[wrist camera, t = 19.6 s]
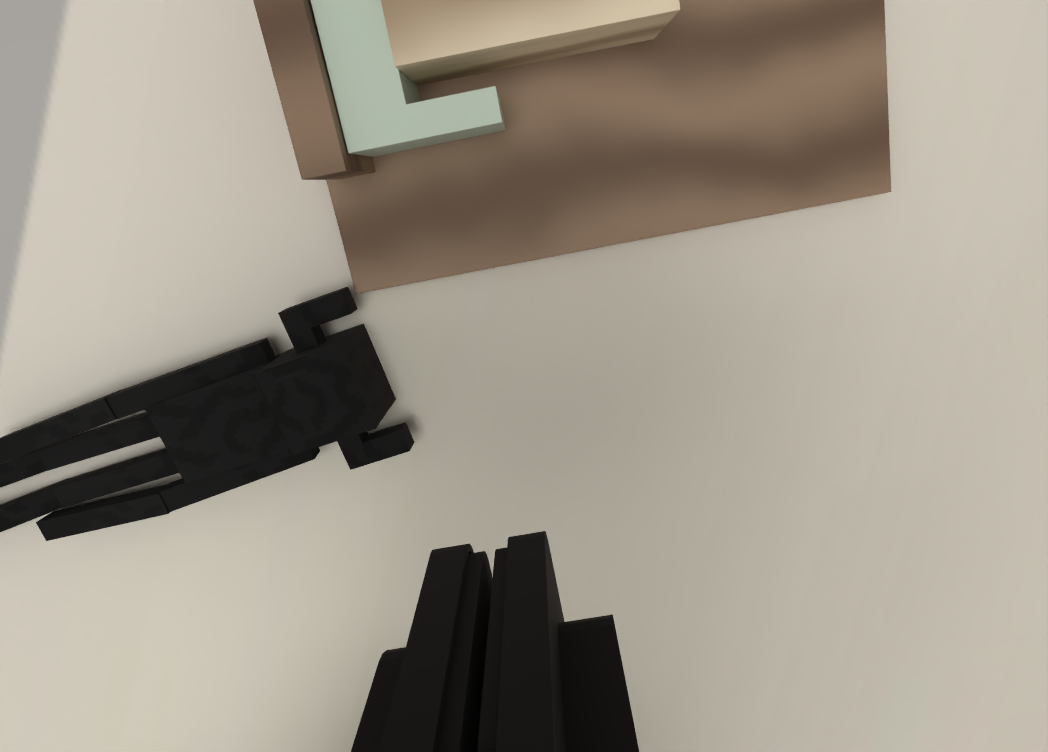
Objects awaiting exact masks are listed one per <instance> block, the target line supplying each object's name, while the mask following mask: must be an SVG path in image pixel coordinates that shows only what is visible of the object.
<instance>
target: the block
mask: <svg viewBox="0 0 1048 752" xmlns="http://www.w3.org/2000/svg"><path fill="white" fill-rule="evenodd" d="M311 4H312V8H313V12H314V16H315V20H316V24H317V28H318V32H319V36H320V40H321V45H322V49H323V53H324V57H325V61H326V65H327V69H328V73H329V77H330V81H331V85H332V89H333V93H334V97H335V101H336V105H337V109H338V113H339V117H340V121H341V125H342V129H343V133H344V137H345V141H346V145H347V149H348V153H350V154H357V155H363V156H370V157H376V156H381V155H386V154H391V153H396V152H401V151H406V150H410V149H415V148H420V147H425V146H430V145H435V144H440V143H445V142H450V141H455V140H460V139H465V138H470V137H475V136H480V135H485V134H490V133H494V132H499V131H504V130H506V128H505V123H504V118H503V112H502V107H501V101H500V98H499V95H498V92H497V89H496V86H493V87H488V88H483V89H478V90H474V91H469V92H464V93H459V94H454V95H449V96H445V97H440V98H435V99H430V100H425V101H420V98H419V93H418V89H417V85H416V84H415V83H414V82H413V81H412V80H410V79H409V78H408V77H407V76H406V75H404V74H403V73H402V72H401V71H400V70H399V69H397V68H396V67H395V64H394V59H393V55H392V50H391V45H390V41H389V36H388V31H387V27H386V22H385V17H384V13H383V8H382V3H381V0H311Z"/></svg>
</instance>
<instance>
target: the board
mask: <svg viewBox="0 0 1048 752" xmlns="http://www.w3.org/2000/svg"><path fill="white" fill-rule="evenodd" d="M253 1H254V4H255V8H256V12H257V15H258V19H259V23H260V26H261V30H262V34H263V38H264V41H265V45H266V49H267V52H268V56H269V60H270V63H271V67H272V71H273V75H274V78H275V82H276V86H277V89H278V93H279V97H280V100H281V104H282V108H283V111H284V115H285V119H286V123H287V126H288V130H289V134H290V137H291V141H292V145H293V148H294V152H295V156H296V160H297V163H298V167H299V171H300V174H301V178H302V180H327V184H328V188H329V192H330V195H331V199H332V203H333V207H334V211H335V215H336V218H337V222H338V226H339V230H340V234H341V238H342V241H343V245H344V249H345V253H346V257H347V261H348V264H349V268H350V272H351V276H352V280H353V284H354V287H355V291H356V294H357V293H362V292H367V291H372V290H378V289H383V288H388V287H393V286H399V285H404V284H409V283H414V282H420V281H425V280H430V279H435V278H441V277H446V276H451V275H456V274H462V273H467V272H472V271H477V270H483V269H488V268H493V267H498V266H504V265H509V264H514V263H519V262H525V261H530V260H535V259H540V258H546V257H551V256H556V255H561V254H567V253H572V252H577V251H582V250H588V249H593V248H598V247H603V246H609V245H614V244H619V243H624V242H630V241H635V240H640V239H645V238H651V237H656V236H661V235H666V234H672V233H677V232H682V231H687V230H693V229H698V228H703V227H708V226H714V225H719V224H724V223H729V222H735V221H740V220H745V219H750V218H756V217H761V216H766V215H771V214H777V213H782V212H787V211H792V210H798V209H803V208H808V207H813V206H819V205H824V204H829V203H834V202H840V201H845V200H850V199H855V198H861V197H866V196H871V195H876V194H882V193H887V192H891V176H890V148H889V120H888V93H887V65H886V37H885V9H884V0H679V3H680V10H679V12H678V13H677V14H676V15H675V16H674V17H673V18H672V19H671V21H670V22H669V23H668V24H667V25H666V26H665V27H664V28H663V30H662V31H661V32H660V33H659V34H658V35H657V36H656V37H655V39H652V40H647V41H642V42H637V43H632V44H627V45H622V46H617V47H612V48H607V49H602V50H596V51H591V52H586V53H581V54H576V55H571V56H566V57H561V58H556V59H551V60H546V61H541V62H536V63H531V64H525V65H520V66H515V67H510V68H505V69H500V70H495V71H490V72H485V73H480V74H475V75H470V76H465V77H460V78H454V79H449V80H444V81H439V82H434V83H429V84H424V85H419V86H417V89H418V93H419V98H420V101H425V100H430V99H435V98H440V97H445V96H449V95H454V94H459V93H464V92H469V91H474V90H478V89H483V88H488V87H493V86H496V89H497V92H498V95H499V98H500V101H501V107H502V112H503V118H504V123H505V128H506V130H504V131H499V132H494V133H490V134H485V135H480V136H475V137H470V138H465V139H460V140H455V141H450V142H445V143H440V144H435V145H430V146H425V147H420V148H415V149H410V150H406V151H401V152H396V153H391V154H386V155H381V156H376V157H370V156H363V155H357V154H350V153H348V149H347V145H346V141H345V137H344V133H343V129H342V125H341V121H340V117H339V113H338V109H337V105H336V101H335V97H334V93H333V89H332V85H331V81H330V77H329V73H328V69H327V65H326V61H325V57H324V53H323V49H322V45H321V40H320V36H319V32H318V28H317V24H316V20H315V16H314V12H313V8H312V4H311V0H253Z"/></svg>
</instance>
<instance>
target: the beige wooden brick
mask: <svg viewBox="0 0 1048 752" xmlns="http://www.w3.org/2000/svg"><path fill="white" fill-rule="evenodd" d="M381 3H382V8H383V13H384V17H385V22H386V27H387V31H388V36H389V41H390V45H391V50H392V55H393V59H394V64H395V67H396V68H397V69H399V70H400V71H401V72H402V73H403V74H404V75H406V76H407V77H408V78H409V79H410V80H412V81H413V82H414V83H415V84H416V85H417V86H419V85H424V84H429V83H434V82H439V81H444V80H449V79H454V78H460V77H465V76H470V75H475V74H480V73H485V72H490V71H495V70H500V69H505V68H510V67H515V66H520V65H525V64H531V63H536V62H541V61H546V60H551V59H556V58H561V57H566V56H571V55H576V54H581V53H586V52H591V51H596V50H602V49H607V48H612V47H617V46H622V45H627V44H632V43H637V42H642V41H647V40H652V39H655V37H656V36H657V35H658V34H659V33H660V32H661V31H662V30H663V28H664V27H665V26H666V25H667V24H668V23H669V22H670V21H671V19H672V18H673V17H674V16H675V15H676V14H677V13H678V12H679V10H680V3H679V0H381Z"/></svg>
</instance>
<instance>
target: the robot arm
mask: <svg viewBox="0 0 1048 752" xmlns="http://www.w3.org/2000/svg"><path fill="white" fill-rule="evenodd" d="M351 752H639V748H638V743H637V738H636V733H635V728H634V722H633V717H632V712H631V707H630V702H629V697H628V691H627V686H626V681H625V676H624V671H623V666H622V661H621V655H620V650H619V645H618V640H617V635H616V630H615V624H614V619H613V615H607V616H601V617H595V618H588V619H582V620H576V621H569V622H564V618H563V613H562V608H561V603H560V598H559V593H558V588H557V583H556V578H555V573H554V568H553V563H552V558H551V553H550V548H549V543H548V539H547V535H546V532H545V531H543V532H537V533H531V534H525V535H519V536H513V537H509V538H508V547H507V548H501V549H496V550H495V558H494V569H493V578H492V573H491V569H490V565H489V561H488V557H487V554H486V552H485V551H483V552H477V553H474V552H473V549H472V546H471V545H470V544H465V545H459V546H452V547H446V548H440V549H434V550H432V552H431V554H430V558H429V562H428V565H427V569H426V573H425V577H424V581H423V584H422V588H421V592H420V596H419V600H418V604H417V607H416V611H415V615H414V619H413V623H412V626H411V630H410V634H409V638H408V642H407V645H406V647H405V648H398V649H392V650H387V651H385V652H384V653H383V654H382V656H381V658H380V660H379V663H378V666H377V670H376V673H375V676H374V679H373V682H372V686H371V689H370V692H369V695H368V699H367V702H366V705H365V708H364V711H363V715H362V718H361V721H360V724H359V727H358V731H357V734H356V737H355V740H354V744H353V747H352V750H351Z"/></svg>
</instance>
